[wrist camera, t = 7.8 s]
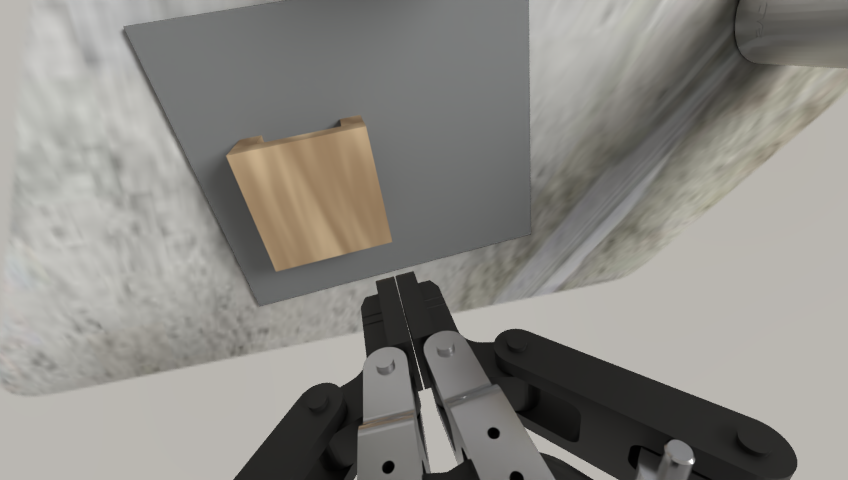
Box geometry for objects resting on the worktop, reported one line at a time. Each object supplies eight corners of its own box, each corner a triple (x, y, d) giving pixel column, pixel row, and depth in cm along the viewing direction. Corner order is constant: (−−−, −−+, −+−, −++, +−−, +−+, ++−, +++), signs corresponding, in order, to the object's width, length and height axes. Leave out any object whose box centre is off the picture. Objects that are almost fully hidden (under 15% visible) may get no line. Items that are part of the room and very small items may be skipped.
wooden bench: (366, 126, 22) (226, 155, 21) (392, 242, 26) (276, 271, 25) (360, 114, 25) (239, 139, 24) (384, 218, 29) (281, 243, 28)
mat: (525, -38, 24) (528, -39, 23) (528, 232, 34) (530, 234, 33) (126, 26, 21) (123, 26, 20) (260, 303, 30) (259, 306, 30)
